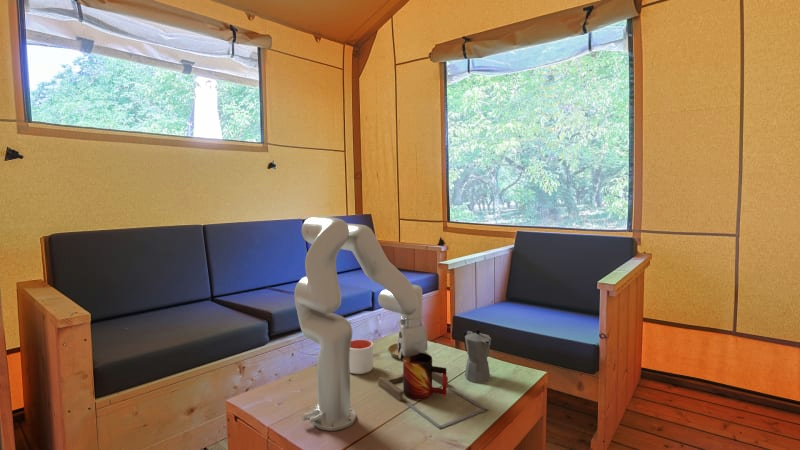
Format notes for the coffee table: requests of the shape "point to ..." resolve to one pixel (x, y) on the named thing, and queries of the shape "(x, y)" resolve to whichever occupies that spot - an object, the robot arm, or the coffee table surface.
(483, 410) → the frame
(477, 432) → the coffee table surface
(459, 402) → the coffee table surface
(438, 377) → the frame
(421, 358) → the mug
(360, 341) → the cup
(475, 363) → the coffeepot
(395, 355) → the plant saucer
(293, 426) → the coffee table surface
